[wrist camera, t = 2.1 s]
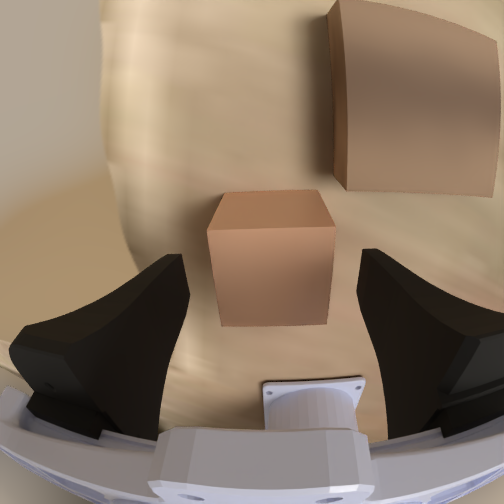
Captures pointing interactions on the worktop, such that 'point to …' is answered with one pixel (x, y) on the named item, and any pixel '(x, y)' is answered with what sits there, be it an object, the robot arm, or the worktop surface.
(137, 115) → the worktop surface
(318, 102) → the worktop surface
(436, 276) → the worktop surface
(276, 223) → the cube
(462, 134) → the walnut block
